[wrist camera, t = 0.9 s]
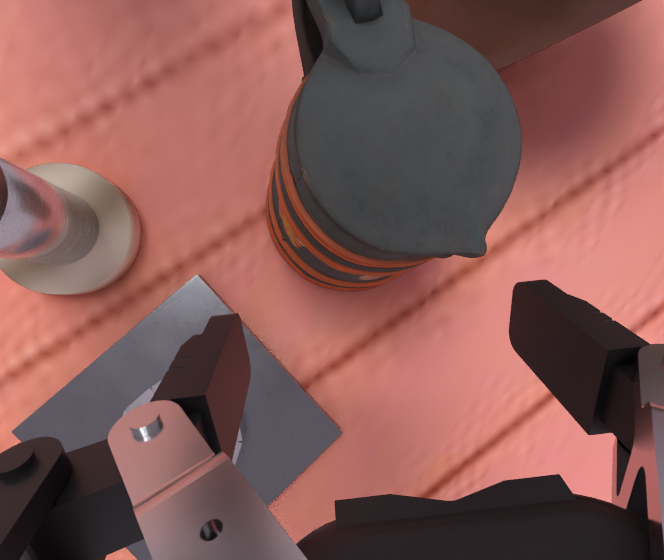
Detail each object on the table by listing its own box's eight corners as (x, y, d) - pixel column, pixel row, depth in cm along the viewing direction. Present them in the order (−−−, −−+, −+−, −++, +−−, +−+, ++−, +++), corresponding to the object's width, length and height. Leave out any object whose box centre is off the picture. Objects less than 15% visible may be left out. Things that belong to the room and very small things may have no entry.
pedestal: (-20, 227, 30) (-46, 221, 28) (83, 148, 32) (67, 136, 29) (69, 320, 31) (51, 322, 28) (167, 239, 32) (157, 234, 30)
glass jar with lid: (-1, 224, 28) (-177, 179, 17) (63, 174, 29) (-67, 101, 18) (54, 282, 29) (-84, 274, 18) (117, 232, 29) (20, 194, 18)
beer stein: (208, 133, 33) (100, -109, 13) (351, 60, 35) (442, -246, 15) (320, 321, 34) (376, 357, 14) (454, 238, 36) (671, 168, 16)
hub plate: (21, 426, 30) (-9, 441, 27) (199, 274, 32) (190, 272, 29) (178, 585, 31) (167, 618, 28) (340, 428, 34) (346, 441, 30)
